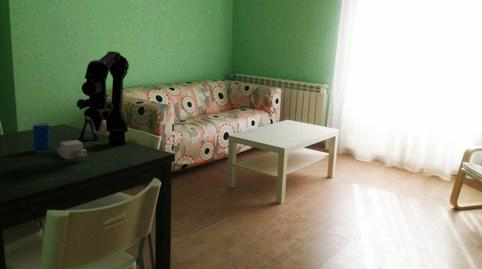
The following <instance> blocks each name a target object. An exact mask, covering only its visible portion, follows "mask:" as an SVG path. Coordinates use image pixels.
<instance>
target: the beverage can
mask: <svg viewBox="0 0 482 269" xmlns="http://www.w3.org/2000/svg"><path fill="white" fill-rule="evenodd" d="M32 131H33V132H32V133H33V146H34V147H33V148H34V151H35V152H36V153H39V154H43V153H49V151H50V150H51V149H52V146H51V145H52V144H51V128H50V125H49V123H48V122H36V123H34V124H33V126H32Z"/></svg>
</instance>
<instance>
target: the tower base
mask: <svg viewBox="0 0 482 269" xmlns="http://www.w3.org/2000/svg"><path fill="white" fill-rule="evenodd" d="M56 150H57V152H56V153H57V155H58V156H60V157H61V158H63V159H65V160H70V159H77V158H82V157H88V150H87V149H85V148H84V147H83V150H81V151H74V152H67V153H66V152H65V151H63V150H62V149H61V147H58V148H56Z"/></svg>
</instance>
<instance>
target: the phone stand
mask: <svg viewBox="0 0 482 269" xmlns="http://www.w3.org/2000/svg"><path fill="white" fill-rule="evenodd" d="M88 124H89V126H90V129H91V132H92V136H85V133H86V131H87V126H88ZM99 139H100V135H99V134H97V133H93V121H92V119H91V118H88V117H86V116H84V124H83V127H82V130H81V132H80V135H79V137H78V141H80V142H82V141H86V142H88V141H89V142H91V141H94V142H95V141H99Z"/></svg>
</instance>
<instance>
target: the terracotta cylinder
mask: <svg viewBox="0 0 482 269" xmlns="http://www.w3.org/2000/svg"><path fill="white" fill-rule="evenodd" d="M93 133H97V134H98V135H99V134H101V135H102V134H106V133H107V129H106V120H105V119H103V120H102V123H101V126H100V129H99V131H96V129H95V126H94V123H93ZM93 133H92V134H93Z"/></svg>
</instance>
